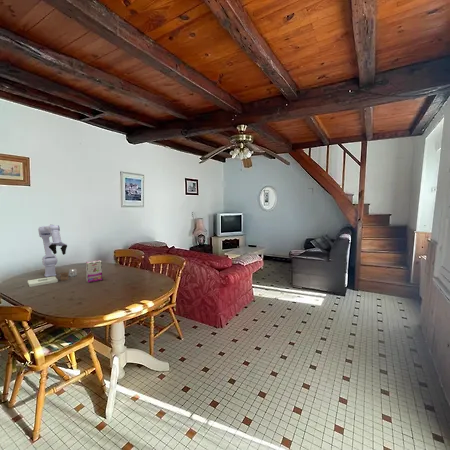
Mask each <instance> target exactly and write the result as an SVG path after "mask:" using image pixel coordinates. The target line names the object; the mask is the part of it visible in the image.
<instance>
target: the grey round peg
mask: <svg viewBox="0 0 450 450" xmlns="http://www.w3.org/2000/svg"><path fill="white" fill-rule="evenodd" d="M77 271H78V270H77V268H70V269H68V278H75V277H77V275H78V272H77Z"/></svg>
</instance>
